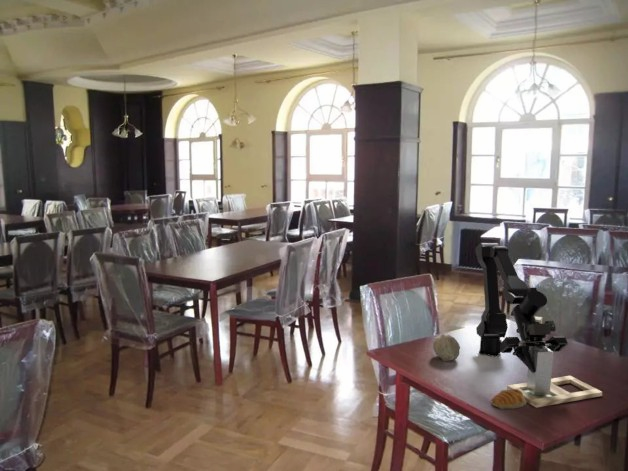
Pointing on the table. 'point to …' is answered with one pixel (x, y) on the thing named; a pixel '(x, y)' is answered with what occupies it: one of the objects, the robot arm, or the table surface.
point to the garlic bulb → (446, 347)
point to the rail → (557, 392)
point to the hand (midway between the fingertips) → (542, 372)
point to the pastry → (509, 399)
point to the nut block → (540, 370)
